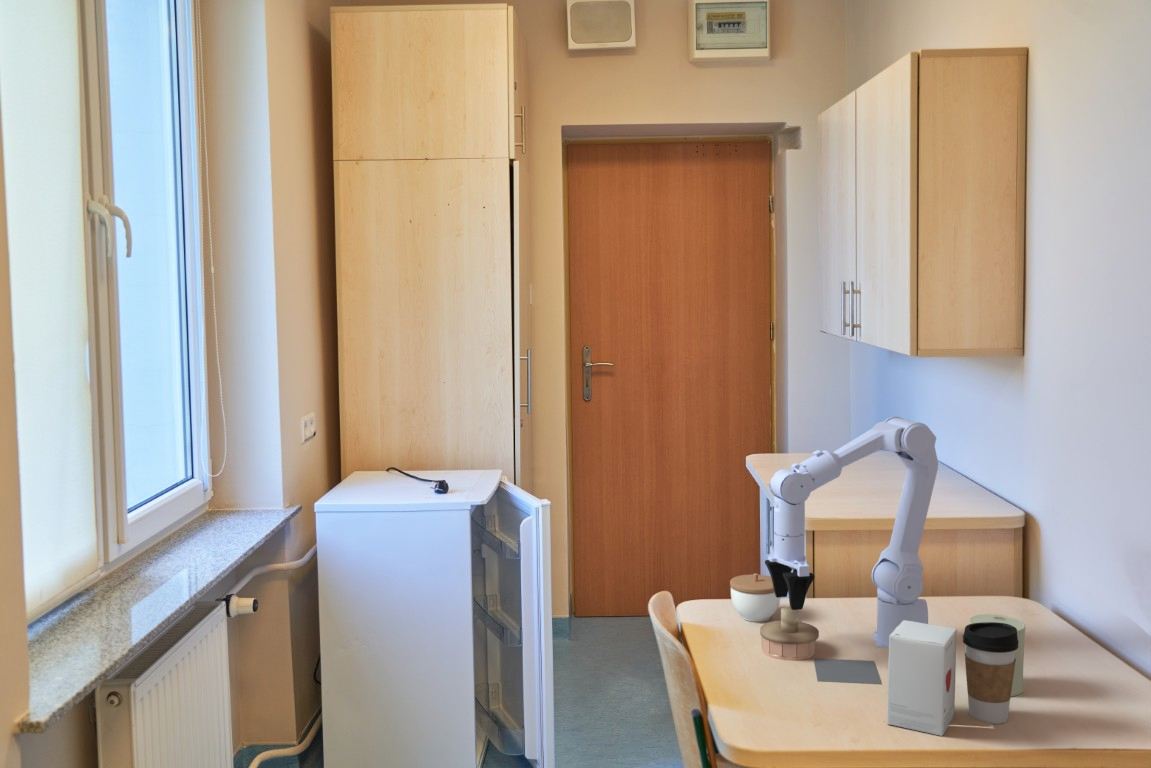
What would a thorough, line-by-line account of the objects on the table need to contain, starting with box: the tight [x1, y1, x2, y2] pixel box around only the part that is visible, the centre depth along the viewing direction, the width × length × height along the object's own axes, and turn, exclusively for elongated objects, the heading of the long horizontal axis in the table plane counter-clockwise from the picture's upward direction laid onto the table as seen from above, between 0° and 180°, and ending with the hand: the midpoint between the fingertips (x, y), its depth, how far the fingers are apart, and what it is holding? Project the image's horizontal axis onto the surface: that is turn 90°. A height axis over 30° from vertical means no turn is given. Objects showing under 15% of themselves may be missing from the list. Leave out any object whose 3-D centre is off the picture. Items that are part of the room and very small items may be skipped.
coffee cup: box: [962, 622, 1019, 725], centre depth 168 cm, size 8×8×15 cm
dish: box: [761, 636, 817, 661], centre depth 198 cm, size 10×10×4 cm
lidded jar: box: [729, 572, 782, 623], centre depth 218 cm, size 11×11×9 cm
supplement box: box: [886, 620, 958, 737], centre depth 167 cm, size 9×9×15 cm
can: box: [968, 613, 1026, 697], centre depth 180 cm, size 9×9×12 cm
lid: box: [759, 606, 820, 644], centre depth 198 cm, size 11×11×5 cm
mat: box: [813, 657, 882, 685], centre depth 188 cm, size 11×11×1 cm
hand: (788, 602), depth 197 cm, fingers open, 7 cm apart
